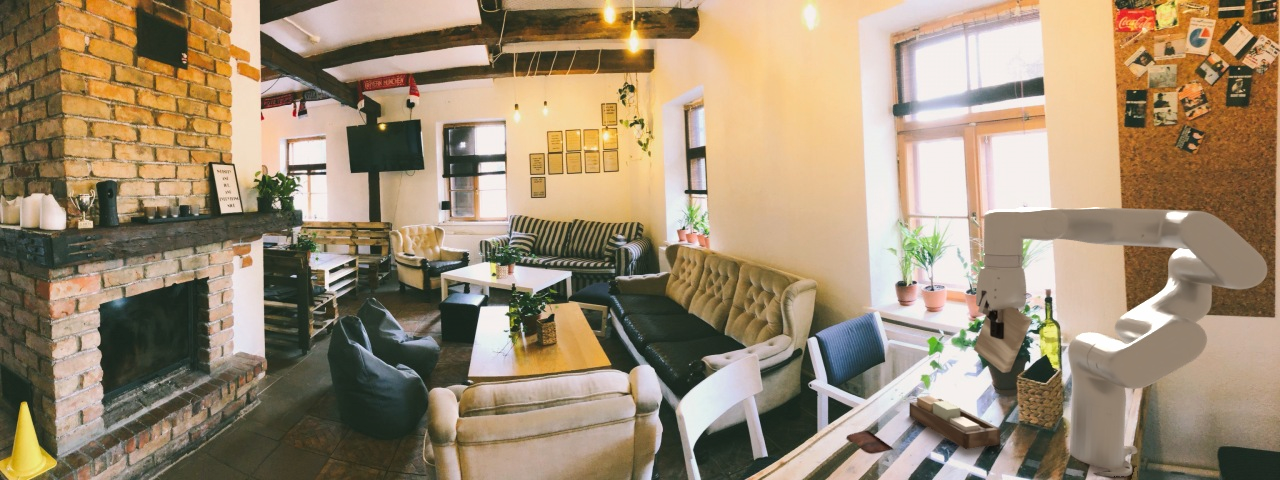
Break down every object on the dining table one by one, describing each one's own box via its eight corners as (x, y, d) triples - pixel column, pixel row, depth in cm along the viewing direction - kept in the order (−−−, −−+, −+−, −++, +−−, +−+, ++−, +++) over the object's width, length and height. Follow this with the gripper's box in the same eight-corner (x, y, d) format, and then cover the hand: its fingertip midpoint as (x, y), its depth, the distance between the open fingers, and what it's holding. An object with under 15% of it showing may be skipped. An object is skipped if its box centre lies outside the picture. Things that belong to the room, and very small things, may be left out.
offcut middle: (945, 425, 140) (945, 400, 139) (960, 433, 135) (960, 408, 134) (932, 426, 139) (933, 402, 138) (947, 435, 134) (947, 409, 133)
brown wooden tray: (940, 416, 148) (940, 398, 147) (1000, 449, 128) (1000, 429, 128) (909, 420, 146) (909, 402, 146) (965, 454, 126) (966, 434, 126)
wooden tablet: (918, 417, 146) (948, 428, 137) (919, 425, 146) (949, 436, 137) (843, 434, 138) (869, 446, 129) (843, 442, 138) (870, 455, 129)
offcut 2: (963, 434, 134) (963, 416, 133) (978, 443, 129) (979, 424, 128) (949, 436, 133) (950, 418, 133) (965, 445, 128) (965, 426, 128)
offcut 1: (929, 415, 145) (929, 395, 145) (942, 423, 141) (942, 402, 140) (917, 417, 145) (917, 397, 144) (930, 425, 140) (930, 404, 139)
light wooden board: (980, 348, 128) (999, 298, 122) (1009, 371, 120) (1032, 319, 114) (973, 349, 128) (992, 299, 122) (1002, 372, 120) (1024, 320, 114)
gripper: (1016, 257, 125) (1014, 330, 126) (961, 262, 122) (960, 336, 123) (1045, 261, 117) (1043, 338, 119) (987, 265, 114) (986, 344, 116)
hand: (1001, 336), depth 121 cm, fingers closed on light wooden board, 1 cm apart
